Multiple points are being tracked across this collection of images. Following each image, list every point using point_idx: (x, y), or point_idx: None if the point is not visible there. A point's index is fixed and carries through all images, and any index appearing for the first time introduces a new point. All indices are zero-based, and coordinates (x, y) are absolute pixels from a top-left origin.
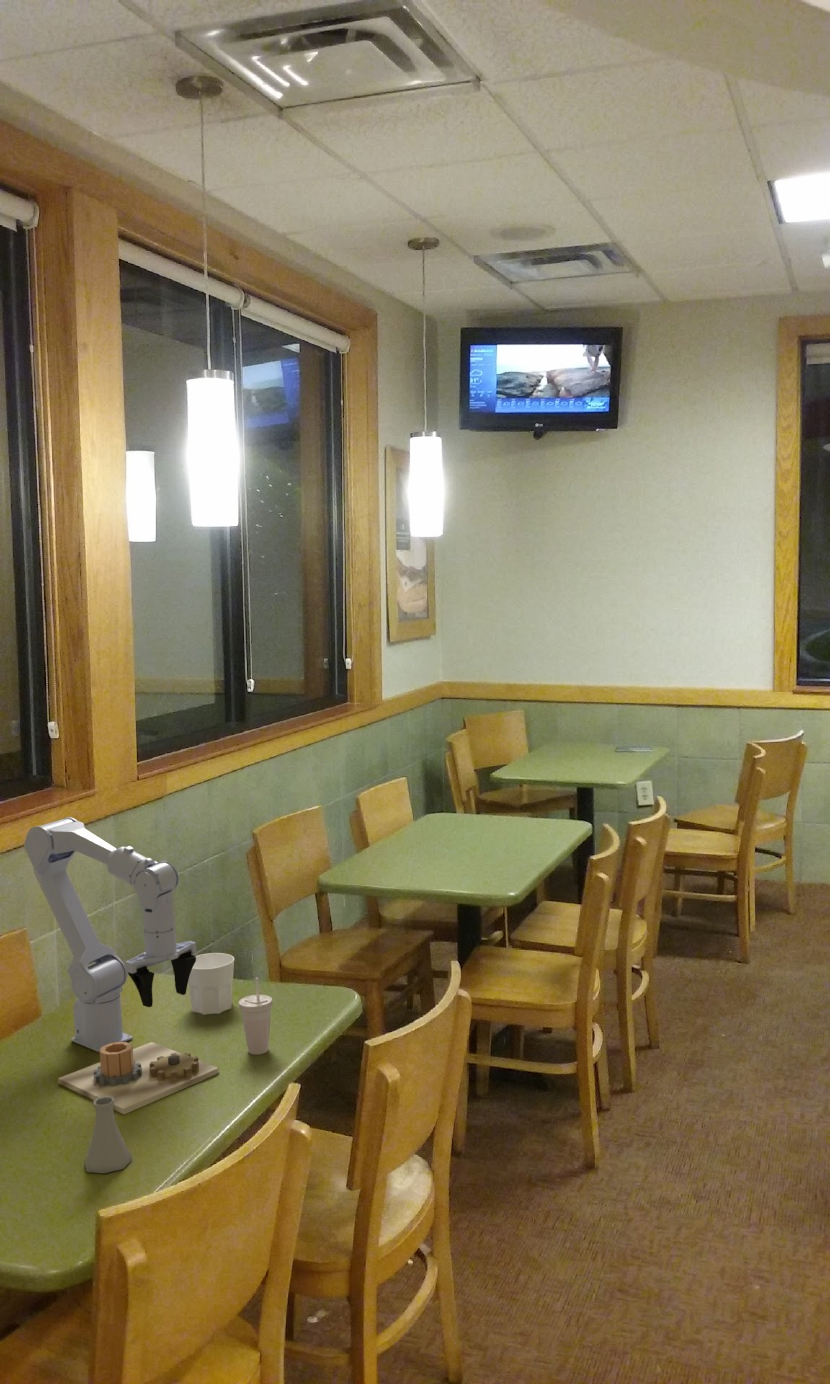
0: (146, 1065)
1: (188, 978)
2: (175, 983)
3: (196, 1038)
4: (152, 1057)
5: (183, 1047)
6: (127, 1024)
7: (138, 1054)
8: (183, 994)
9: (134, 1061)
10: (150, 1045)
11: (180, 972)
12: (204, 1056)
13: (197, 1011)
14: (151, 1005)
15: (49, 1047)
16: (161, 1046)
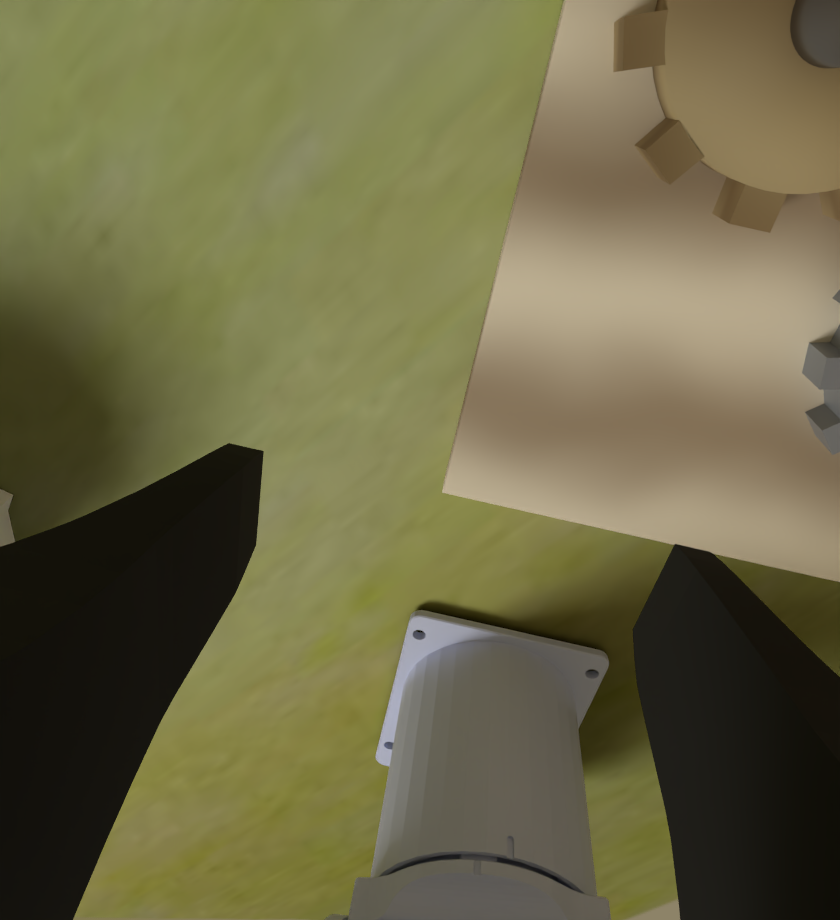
0: (764, 298)
1: (102, 511)
2: (214, 623)
3: (232, 333)
4: (634, 348)
5: (366, 318)
6: (297, 709)
7: (619, 452)
8: (255, 452)
9: (833, 359)
10: (487, 469)
11: (124, 669)
12: (414, 75)
13: (10, 540)
14: (691, 552)
15: (619, 819)
16: (473, 404)
